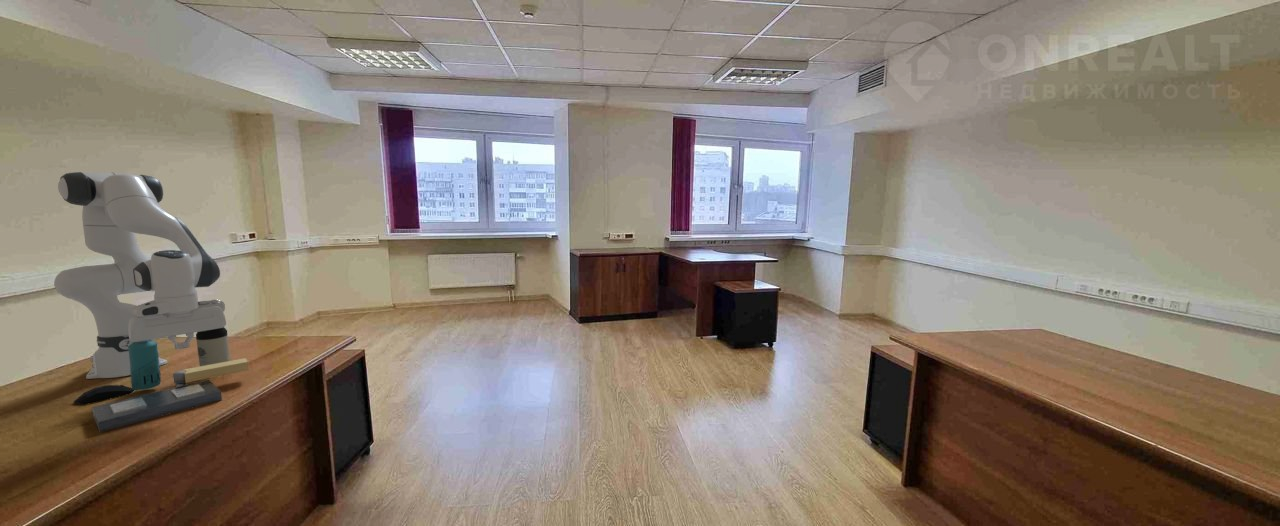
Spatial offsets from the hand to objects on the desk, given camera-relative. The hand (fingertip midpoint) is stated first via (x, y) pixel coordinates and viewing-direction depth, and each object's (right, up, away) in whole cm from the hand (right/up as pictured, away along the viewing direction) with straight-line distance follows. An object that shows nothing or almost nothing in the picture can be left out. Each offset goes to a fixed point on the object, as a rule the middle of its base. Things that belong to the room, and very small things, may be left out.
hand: (182, 348), depth 131 cm
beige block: (-3, -11, +12) cm, 17 cm away
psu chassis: (-5, -17, -2) cm, 18 cm away
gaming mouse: (-27, -17, +4) cm, 32 cm away
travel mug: (-14, -14, +25) cm, 32 cm away
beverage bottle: (-20, -16, +8) cm, 27 cm away
